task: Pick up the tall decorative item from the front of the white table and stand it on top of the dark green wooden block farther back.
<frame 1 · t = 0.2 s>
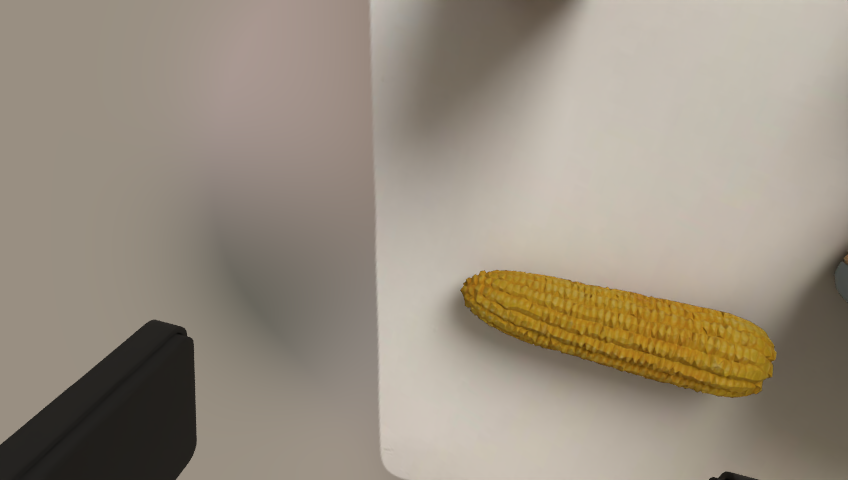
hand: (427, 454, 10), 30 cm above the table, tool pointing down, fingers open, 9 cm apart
food: (606, 307, 42), on the table
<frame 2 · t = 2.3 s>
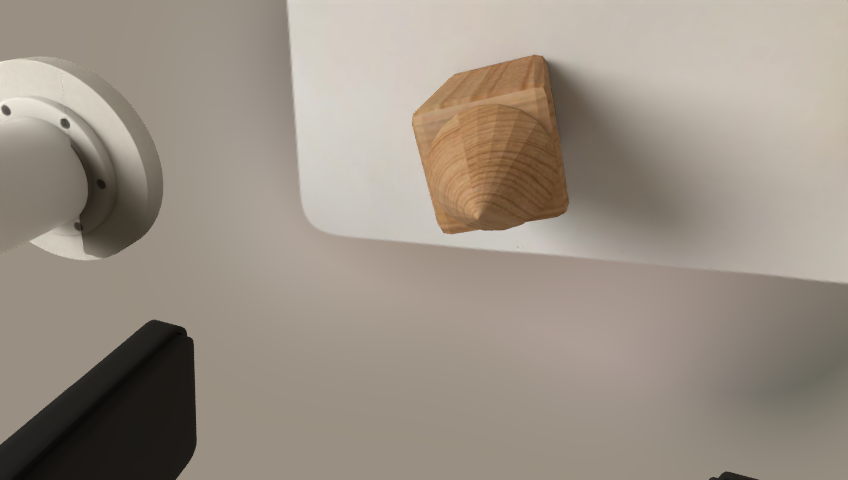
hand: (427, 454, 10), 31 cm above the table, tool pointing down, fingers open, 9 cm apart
decorative item: (504, 111, 38), on the table
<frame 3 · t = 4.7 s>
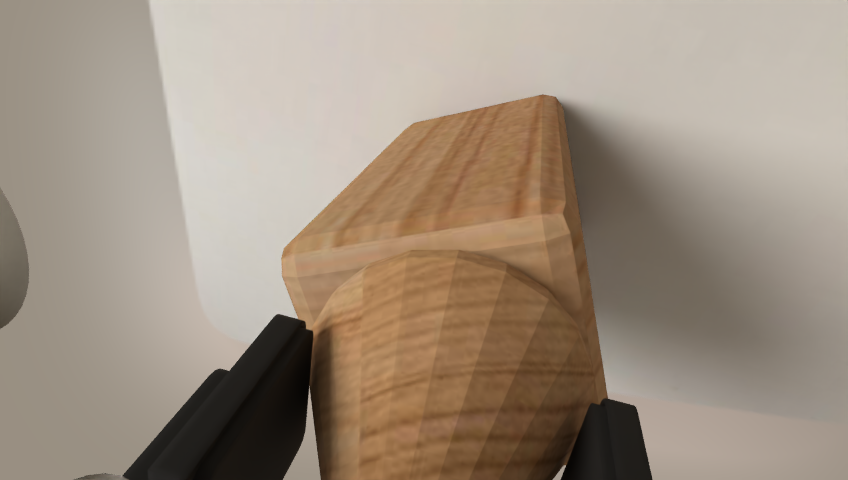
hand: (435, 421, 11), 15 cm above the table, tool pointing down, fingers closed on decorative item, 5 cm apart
decorative item: (494, 180, 24), on the table, touching gripper
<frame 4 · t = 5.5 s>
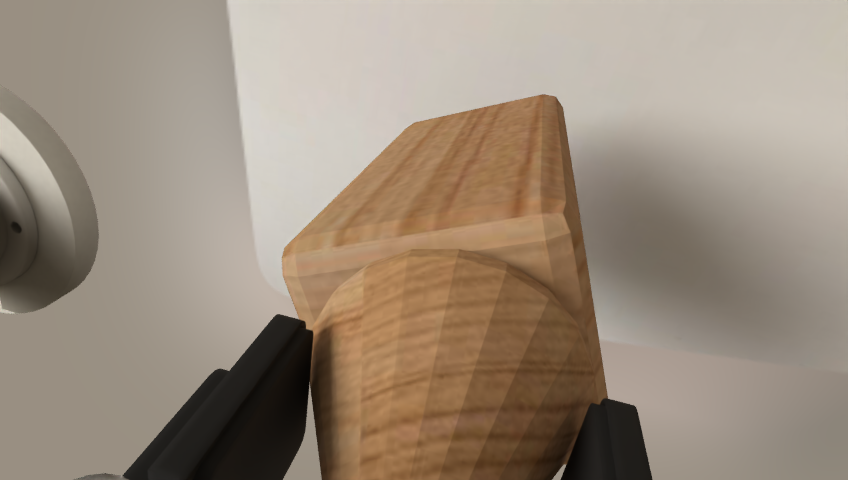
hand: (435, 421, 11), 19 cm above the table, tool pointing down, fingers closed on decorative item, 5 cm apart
decorative item: (494, 179, 24), point 4 cm above the table, touching gripper
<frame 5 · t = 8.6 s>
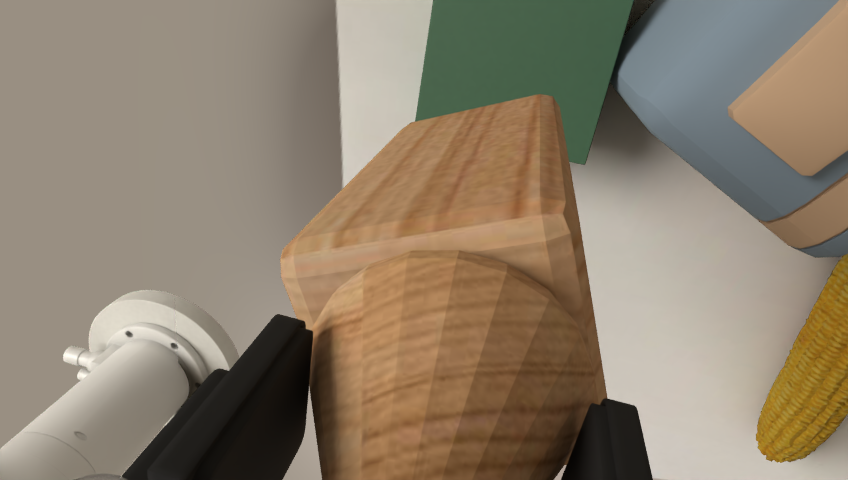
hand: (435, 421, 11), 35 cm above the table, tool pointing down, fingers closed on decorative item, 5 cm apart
green block: (521, 48, 41), on the table
decorative item: (491, 179, 24), point 20 cm above the table, touching gripper
food: (817, 338, 45), on the table
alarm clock: (767, 43, 38), on the table, touching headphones
when the fingers open (21 cm above the table, at t = 12.5 s): decorative item stays where it is, resting on green block.
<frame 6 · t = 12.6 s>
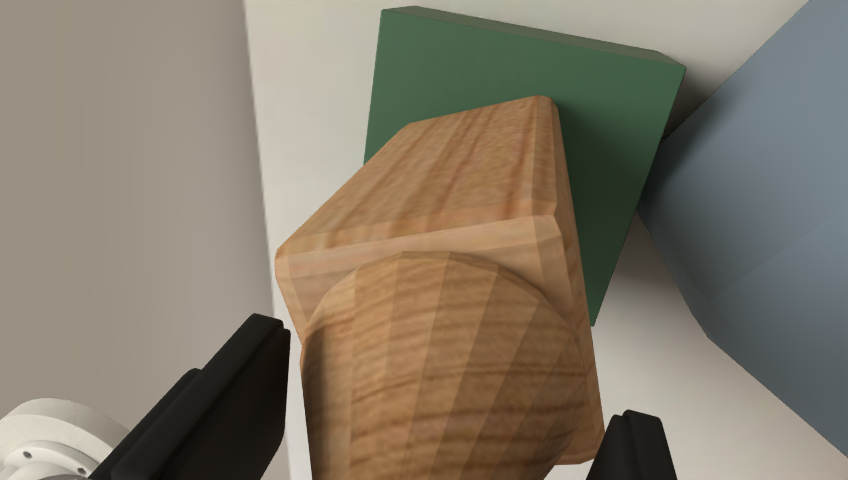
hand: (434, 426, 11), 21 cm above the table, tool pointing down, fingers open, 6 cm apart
green block: (504, 146, 29), on the table
decorative item: (490, 180, 24), point 6 cm above the table, touching green block
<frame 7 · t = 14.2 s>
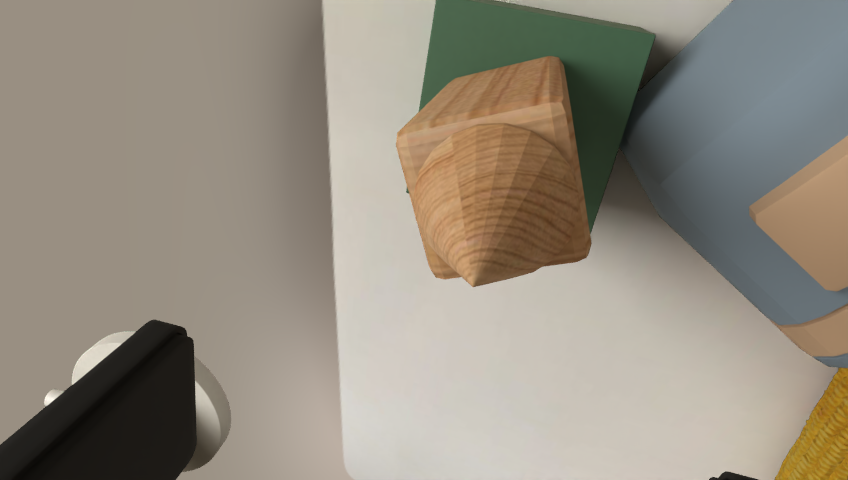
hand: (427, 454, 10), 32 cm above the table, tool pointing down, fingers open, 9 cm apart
green block: (522, 102, 38), on the table
decorative item: (513, 121, 33), point 6 cm above the table, touching green block
food: (835, 407, 43), on the table
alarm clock: (787, 112, 35), on the table, touching green block, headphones
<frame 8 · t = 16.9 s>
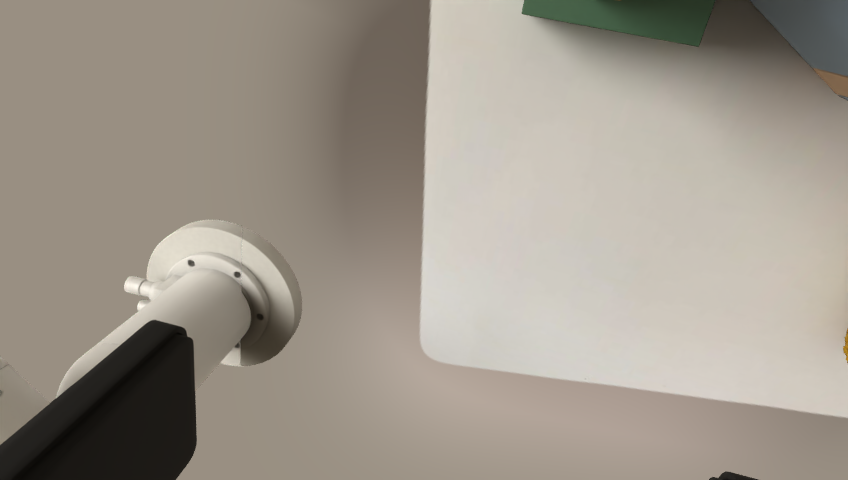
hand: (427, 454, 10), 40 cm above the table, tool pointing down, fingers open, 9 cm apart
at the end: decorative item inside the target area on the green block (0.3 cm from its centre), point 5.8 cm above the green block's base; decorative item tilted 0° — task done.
